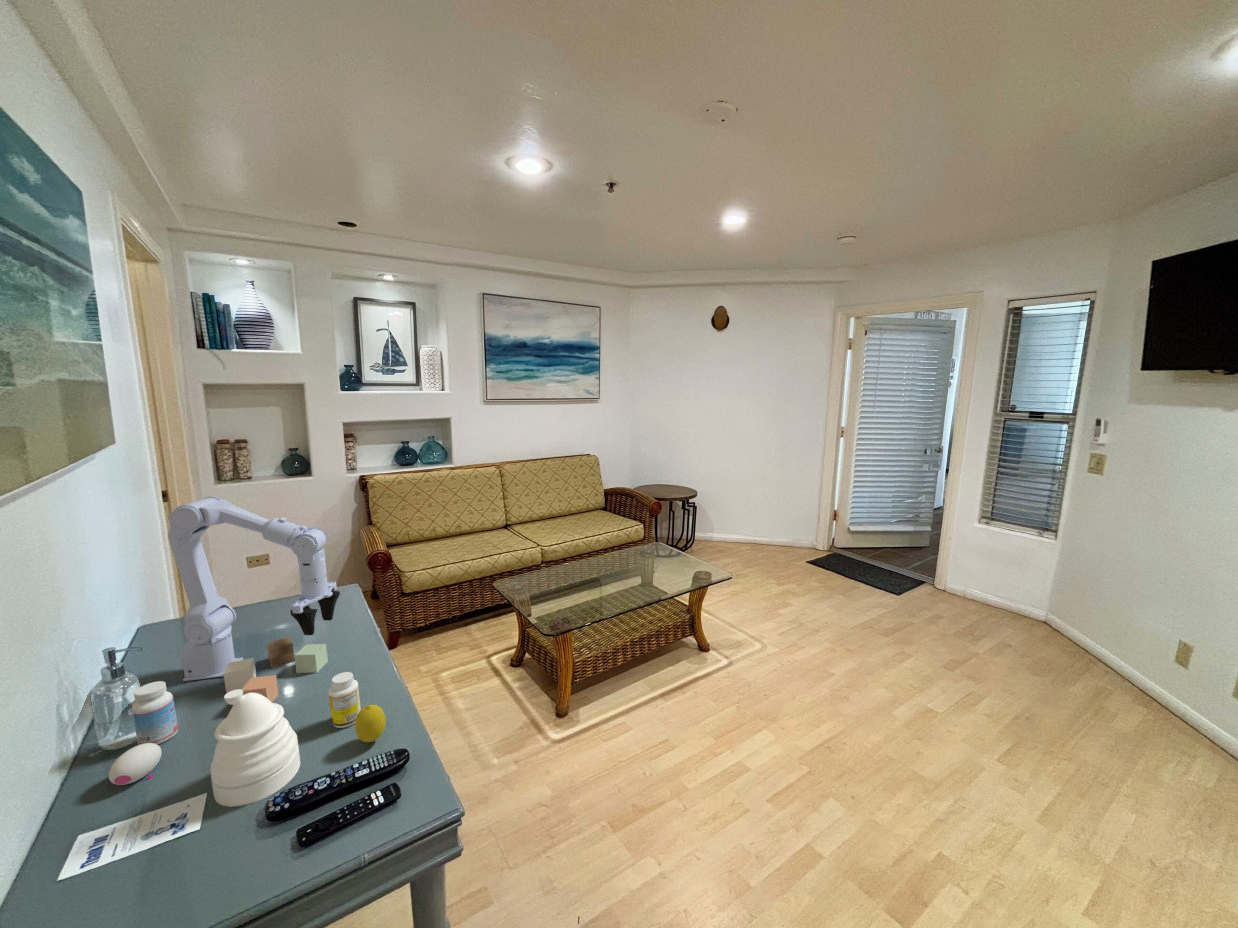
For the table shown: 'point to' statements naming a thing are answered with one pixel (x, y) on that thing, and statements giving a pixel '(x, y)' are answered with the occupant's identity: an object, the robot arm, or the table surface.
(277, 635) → the table surface
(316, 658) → the sage block
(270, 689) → the terracotta block
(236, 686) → the cream block
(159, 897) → the table surface
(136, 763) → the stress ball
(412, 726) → the table surface
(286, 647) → the walnut block
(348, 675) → the supplement bottle
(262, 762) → the honey pot
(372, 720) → the lemon
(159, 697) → the pill bottle
